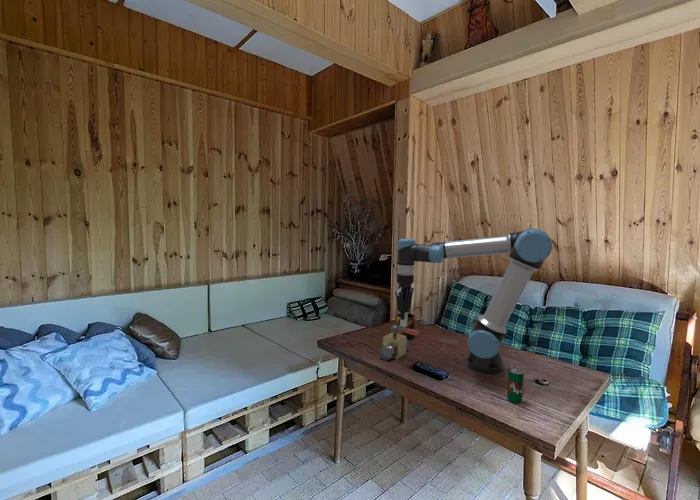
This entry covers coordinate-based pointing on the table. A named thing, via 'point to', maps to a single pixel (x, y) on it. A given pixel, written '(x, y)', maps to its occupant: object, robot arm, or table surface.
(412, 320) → the mug
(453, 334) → the table surface
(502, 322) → the robot arm
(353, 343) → the table surface
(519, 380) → the soda can
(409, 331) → the lever
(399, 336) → the valve
